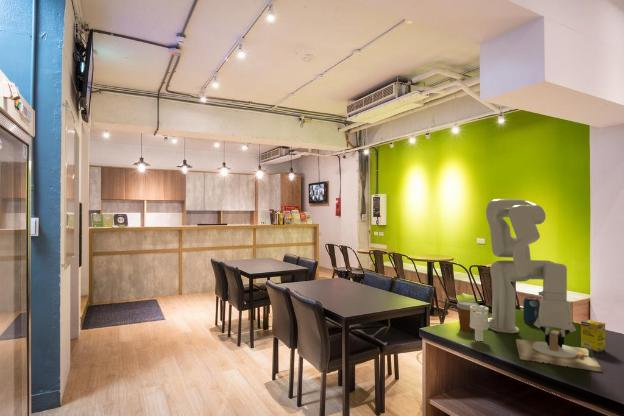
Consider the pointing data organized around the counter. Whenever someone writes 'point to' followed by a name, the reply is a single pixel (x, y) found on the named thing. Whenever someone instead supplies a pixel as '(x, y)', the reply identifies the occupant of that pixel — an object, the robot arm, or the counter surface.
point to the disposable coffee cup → (465, 314)
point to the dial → (555, 348)
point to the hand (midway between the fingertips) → (554, 345)
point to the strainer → (479, 320)
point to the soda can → (531, 309)
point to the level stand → (578, 362)
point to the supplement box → (593, 335)
